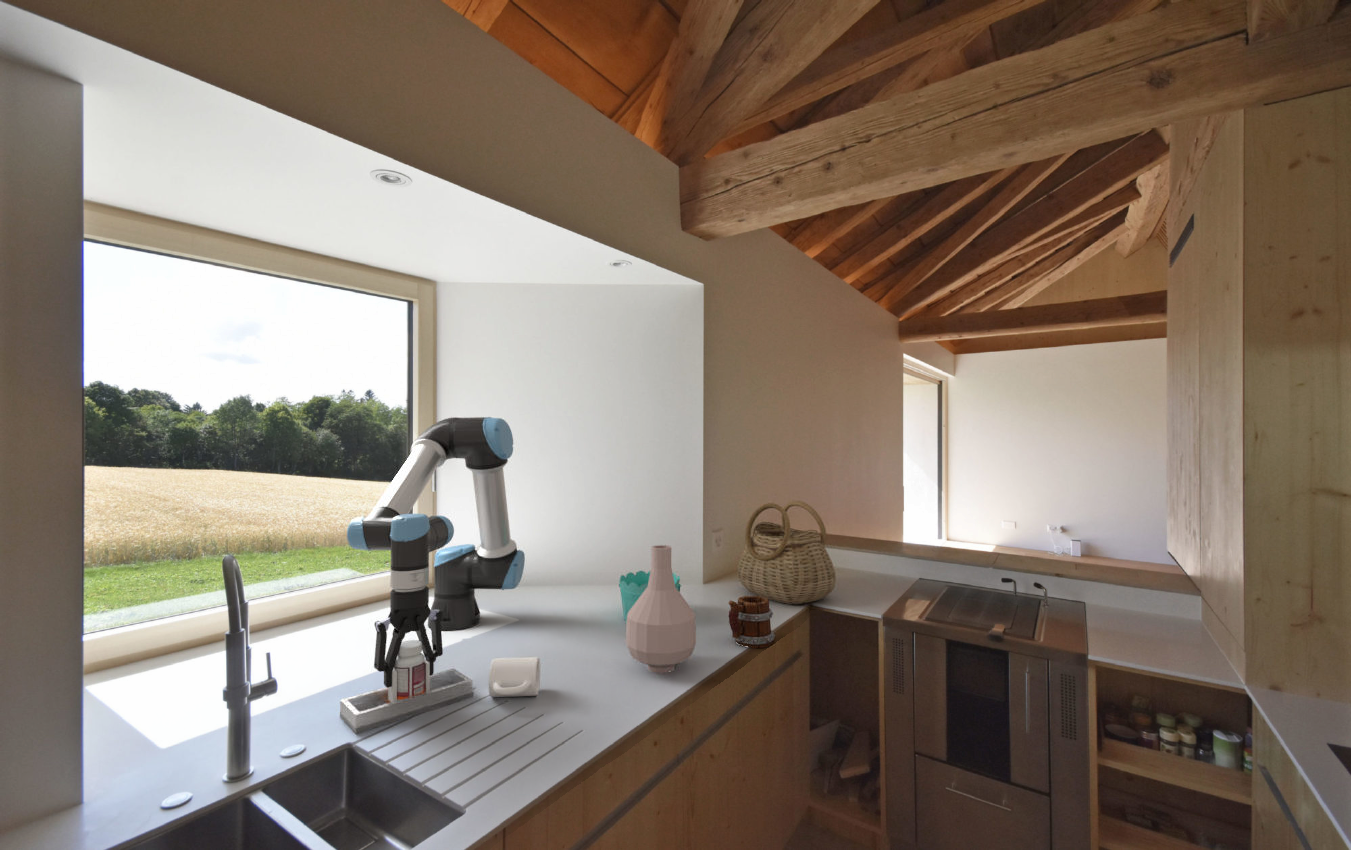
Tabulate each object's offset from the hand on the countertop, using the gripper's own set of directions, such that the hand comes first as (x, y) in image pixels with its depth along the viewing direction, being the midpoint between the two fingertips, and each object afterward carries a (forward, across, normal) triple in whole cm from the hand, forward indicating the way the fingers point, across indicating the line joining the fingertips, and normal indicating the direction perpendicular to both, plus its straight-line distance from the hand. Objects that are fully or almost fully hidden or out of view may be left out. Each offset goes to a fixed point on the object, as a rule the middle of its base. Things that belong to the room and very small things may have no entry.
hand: (409, 695), depth 130 cm
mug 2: (+3, +83, -26) cm, 87 cm away
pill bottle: (+1, 0, 0) cm, 1 cm away
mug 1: (+3, +18, -12) cm, 22 cm away
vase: (+2, +53, -22) cm, 57 cm away
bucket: (+3, +79, +11) cm, 80 cm away
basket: (+3, +131, -4) cm, 131 cm away
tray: (+2, 0, 0) cm, 2 cm away
